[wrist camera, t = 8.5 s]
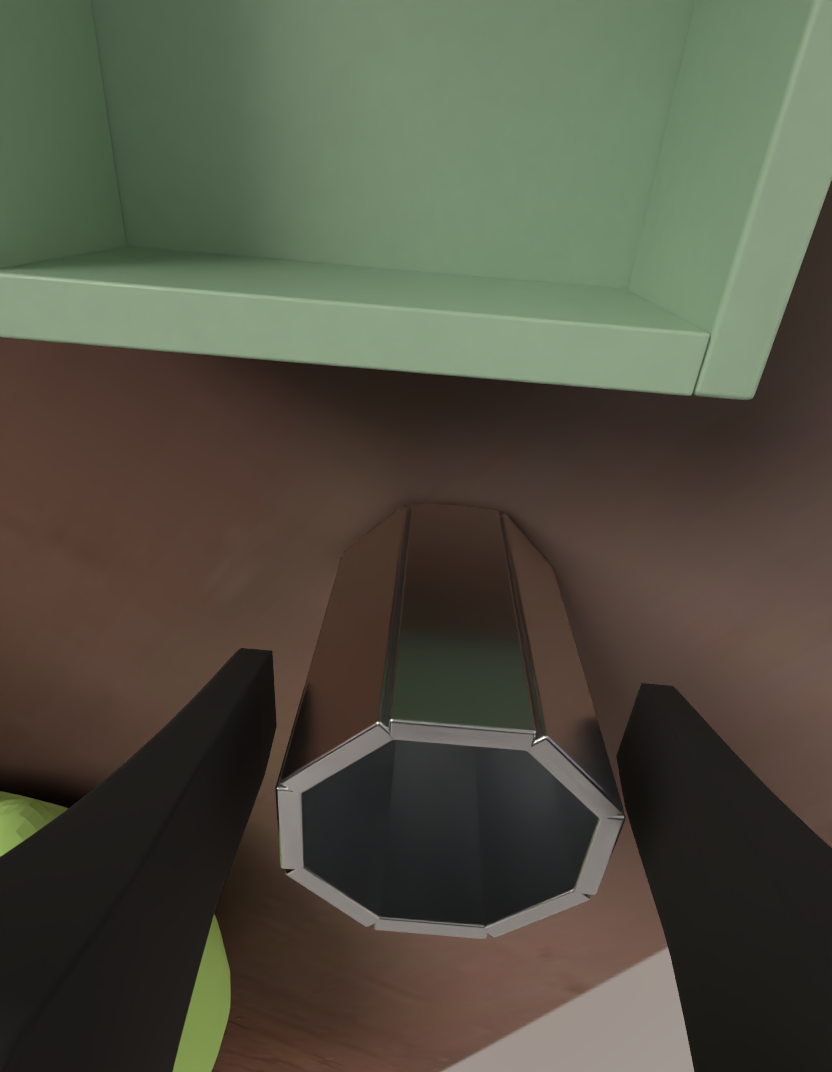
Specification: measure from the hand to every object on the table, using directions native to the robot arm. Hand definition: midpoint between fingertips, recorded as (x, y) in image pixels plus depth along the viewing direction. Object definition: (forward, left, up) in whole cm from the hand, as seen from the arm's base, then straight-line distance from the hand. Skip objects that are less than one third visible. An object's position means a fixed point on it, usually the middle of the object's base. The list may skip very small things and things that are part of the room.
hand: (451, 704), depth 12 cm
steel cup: (0, 0, -4) cm, 4 cm away
